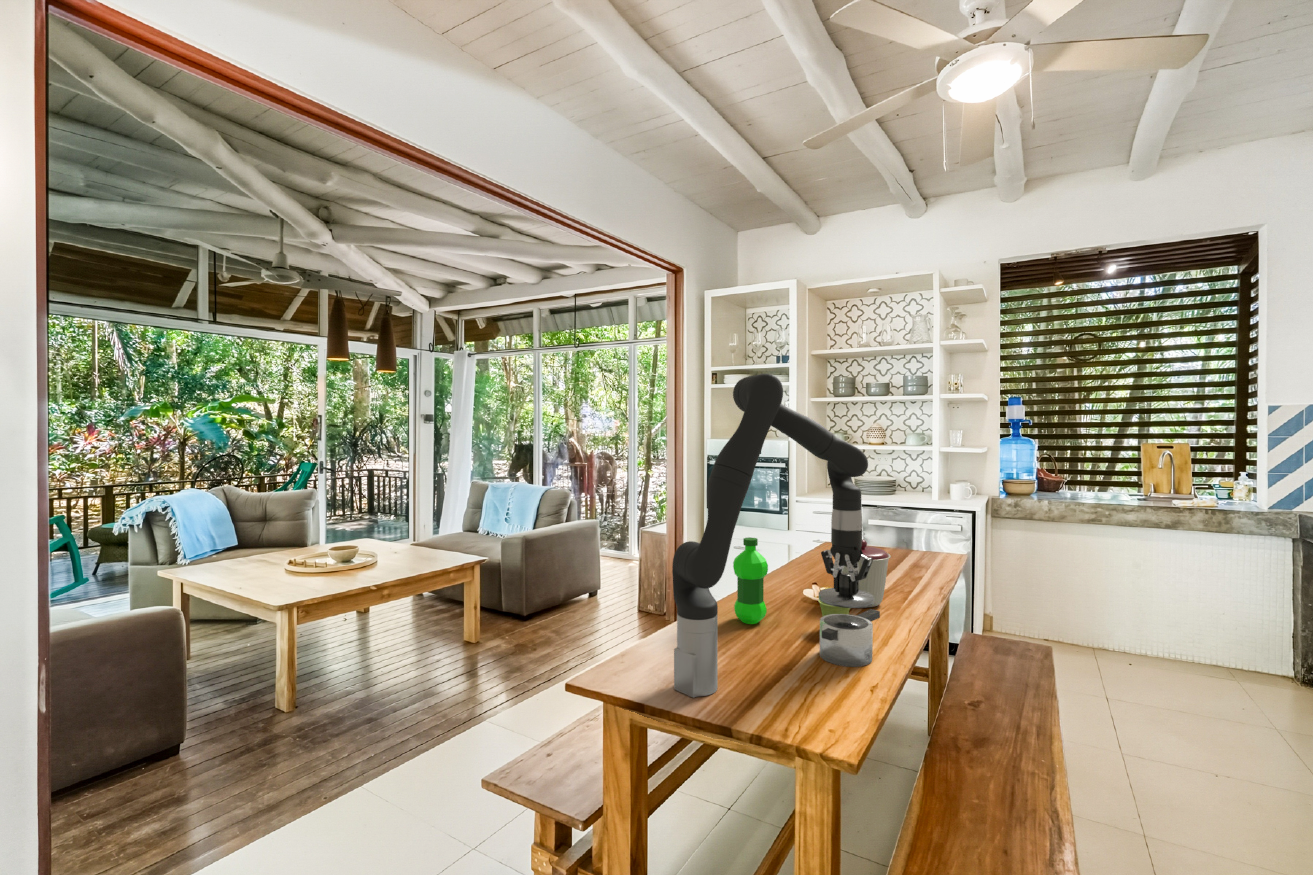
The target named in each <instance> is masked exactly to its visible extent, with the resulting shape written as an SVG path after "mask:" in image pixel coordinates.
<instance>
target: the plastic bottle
mask: <svg viewBox="0 0 1313 875" xmlns="http://www.w3.org/2000/svg"><path fill="white" fill-rule="evenodd" d="M758 542H759V540H758V538H757V537H749V536H748V537H744V538H743V546H744V548H745V549H744V550H743V551H742V552H740V553H739V554H738V555H737V556H736V557H735V558H734V559H733V562H732V564H733V565H732V567H733V571H734V575H735V576H736V578H737V581H736V582H737V591H736V594H737V599H736V601H735V602H734V605H733V606H734V608H733V609H734V614H735V616H736V617H737V618H738V619H739V620H740V621H741V622H742V623H744V624H746V625H757V624H758V623H760V621H761V620H763V619H764V618H765V617H766V615H767V612H768V611H767V610H768V609H767V605H766V603H765V600H764V584H765V583H764V578H765V577H766V576H767V575H768V570H769V565H768V562H767V560H766V558H765V557H764V555H762V554H761V553H760V552H758V551H757V548H756V547H757V546H758Z"/></svg>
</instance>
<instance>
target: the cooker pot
mask: <svg viewBox="0 0 1313 875" xmlns="http://www.w3.org/2000/svg"><path fill="white" fill-rule="evenodd" d="M880 618H881V611H880V610H877V609H874V608H873V609H872V608H870V609H867V610H865V611H863V612H861V613H859V614H857V615H855V614H849V615H848V614H831V615H826V616H823V617H822V616H821V617H820V618H819V657H820V658H821V659H822V660H824V661H825V662H827V663H828V664H831V665H832V664H833V665H835V666H841V667H846V668H847V667H848V668H849V667H850V668H859V667H865V666H869V665H870V664H871V663H872V662H873V644H874V642H873V639H874V638H873V635H874V634H873V632H874V630H873V623H872V622H873V621H876V620H878V619H880Z"/></svg>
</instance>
